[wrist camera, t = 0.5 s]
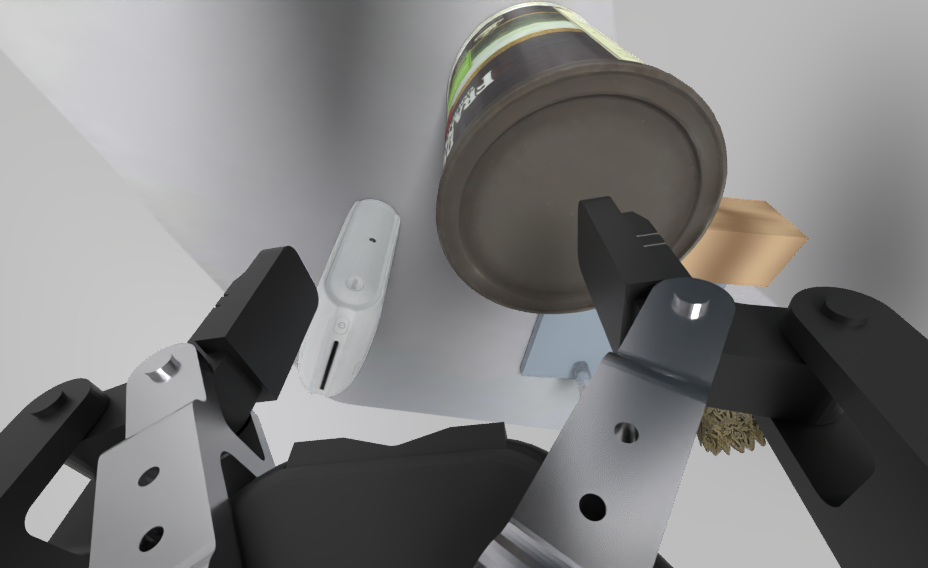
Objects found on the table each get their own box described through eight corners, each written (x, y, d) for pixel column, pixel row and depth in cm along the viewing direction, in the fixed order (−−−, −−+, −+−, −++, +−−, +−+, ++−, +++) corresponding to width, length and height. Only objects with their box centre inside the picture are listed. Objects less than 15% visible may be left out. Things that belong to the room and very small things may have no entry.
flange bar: (619, 238, 32) (639, 277, 28) (640, 189, 29) (667, 226, 25) (732, 247, 33) (767, 287, 29) (765, 200, 30) (808, 238, 26)
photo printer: (353, 188, 29) (301, 305, 19) (408, 207, 30) (384, 327, 21) (328, 282, 35) (281, 405, 26) (375, 296, 36) (345, 417, 27)
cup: (661, 369, 44) (692, 437, 38) (729, 344, 41) (775, 412, 35) (681, 397, 48) (713, 462, 42) (745, 376, 45) (789, 442, 39)
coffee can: (434, 160, 27) (418, 298, 17) (465, -21, 20) (470, 21, 10) (571, 187, 29) (634, 330, 18) (641, 27, 22) (806, 107, 11)
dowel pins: (575, 360, 41) (587, 404, 37) (618, 363, 41) (634, 407, 37) (570, 369, 42) (582, 413, 38) (613, 372, 42) (628, 415, 38)
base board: (559, 255, 33) (562, 264, 32) (723, 270, 34) (730, 279, 33) (520, 366, 44) (521, 375, 43) (646, 374, 45) (650, 383, 44)
